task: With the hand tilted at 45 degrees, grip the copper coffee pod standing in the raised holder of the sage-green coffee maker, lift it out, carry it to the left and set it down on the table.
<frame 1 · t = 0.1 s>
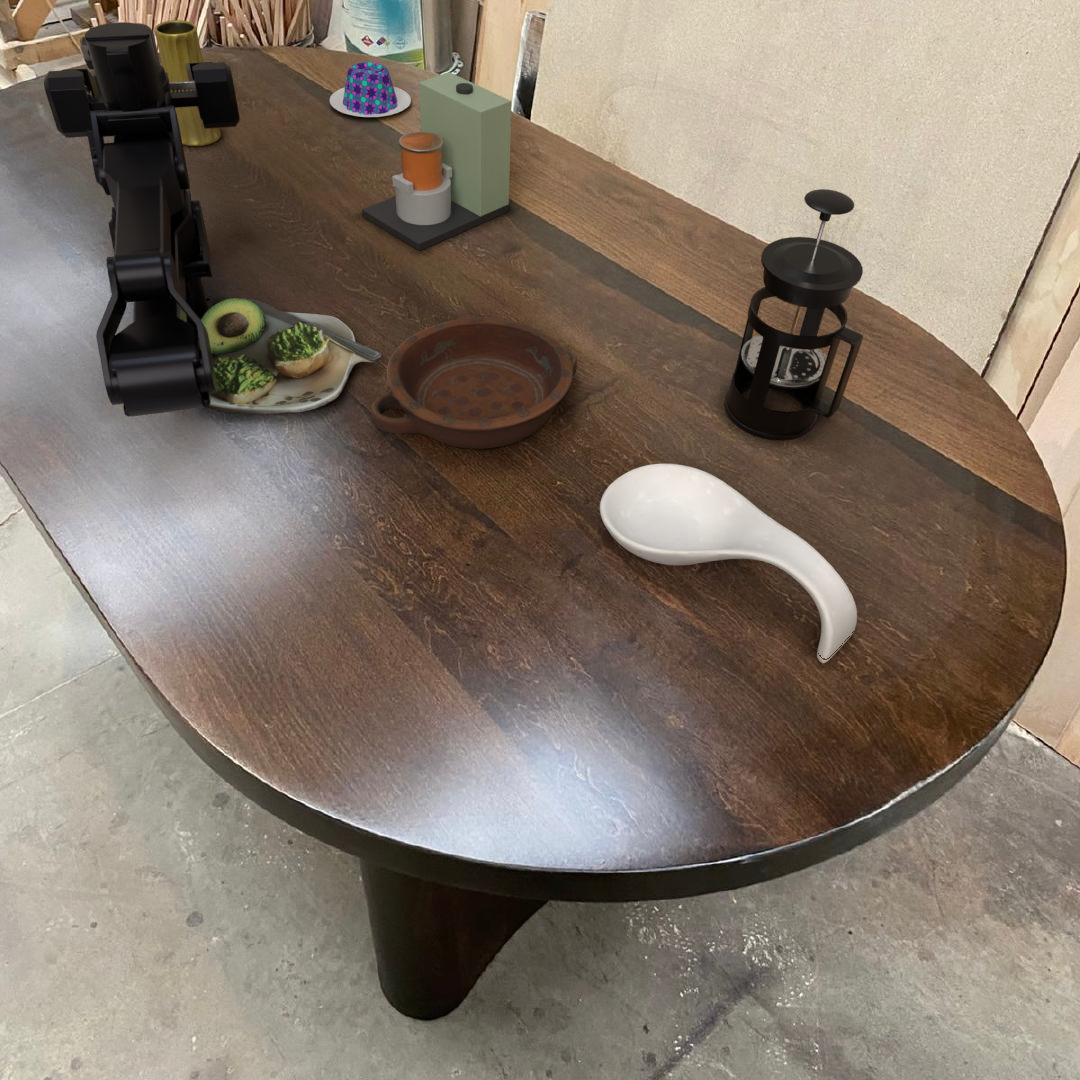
hand: (145, 69, 108), 17 cm above the table, tool horizontal, fingers open, 9 cm apart
french press: (773, 414, 98), on the table
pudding: (371, 106, 144), on the table
avocado toast plate: (268, 368, 99), on the table, touching arm
coffee pod: (422, 181, 117), point 5 cm above the table, touching coffee maker
dish: (480, 409, 96), on the table
spoon rest: (719, 574, 82), on the table
vase: (198, 138, 134), on the table
coffee maker: (424, 219, 121), on the table
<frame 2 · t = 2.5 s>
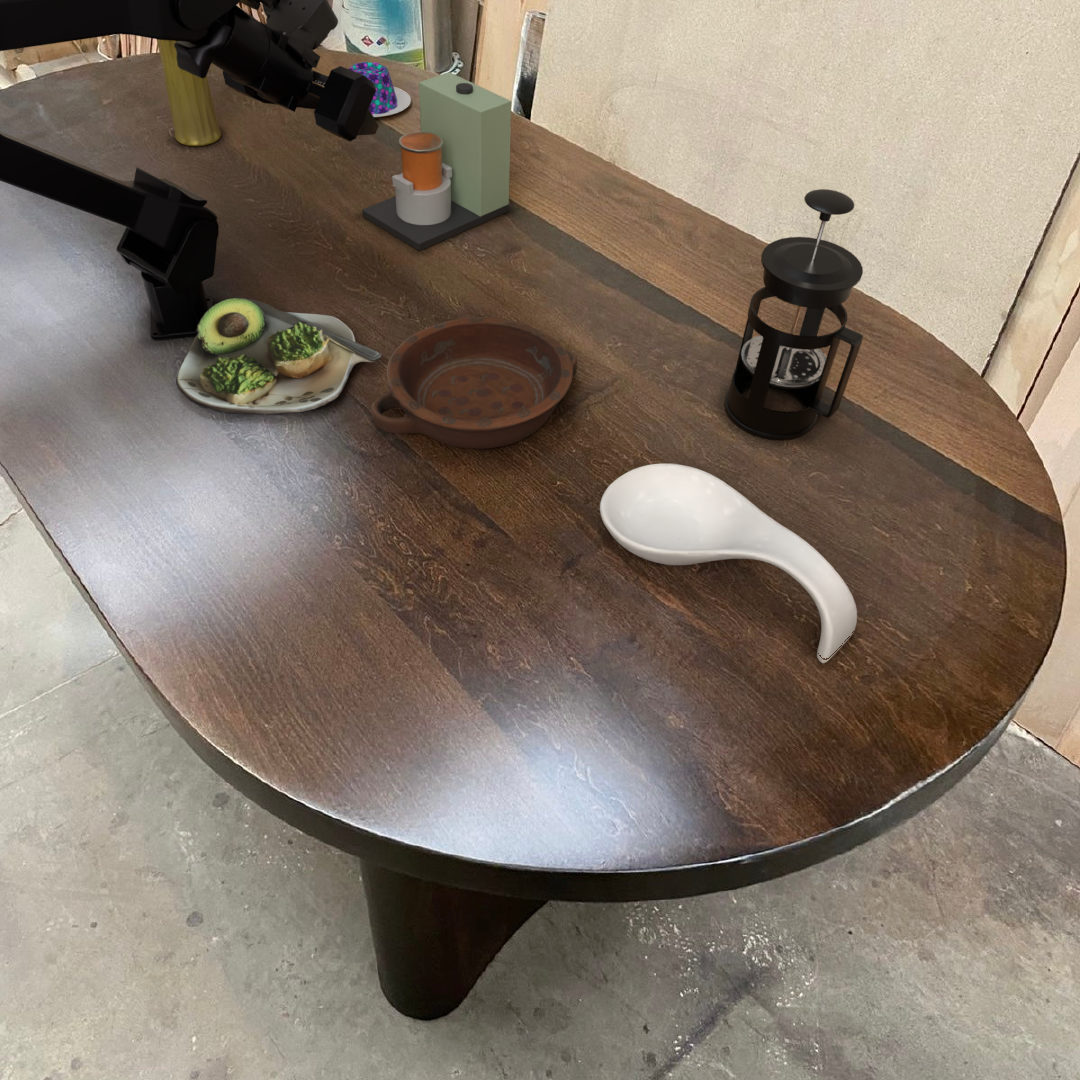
hand: (346, 116, 108), 14 cm above the table, tool tilted 50°, fingers open, 9 cm apart
nothing on the table moved.
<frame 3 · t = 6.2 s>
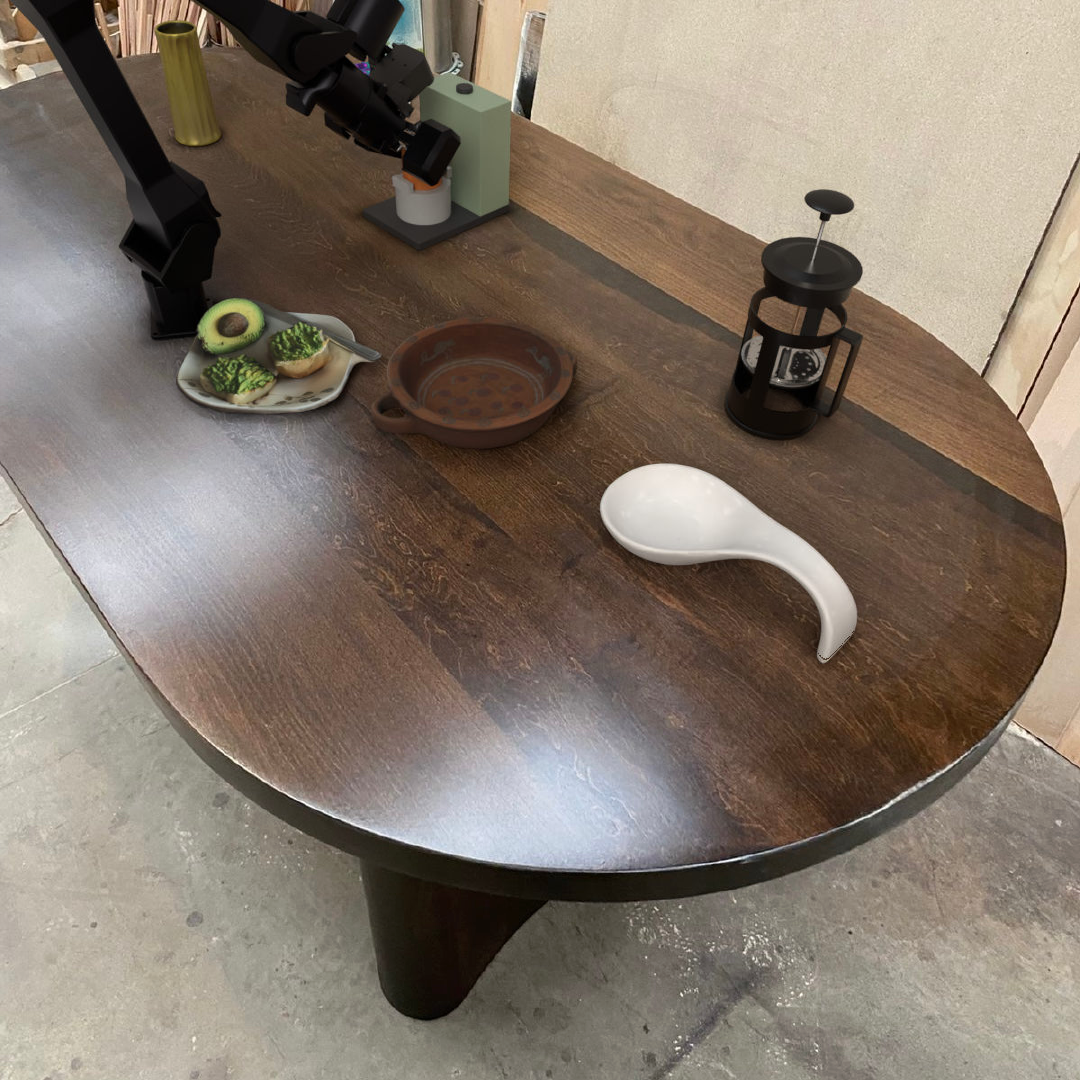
hand: (431, 165, 117), 7 cm above the table, tool tilted 45°, fingers closed on coffee pod, 5 cm apart
coffee pod: (422, 181, 118), point 5 cm above the table, touching coffee maker, gripper
everything else where it was.
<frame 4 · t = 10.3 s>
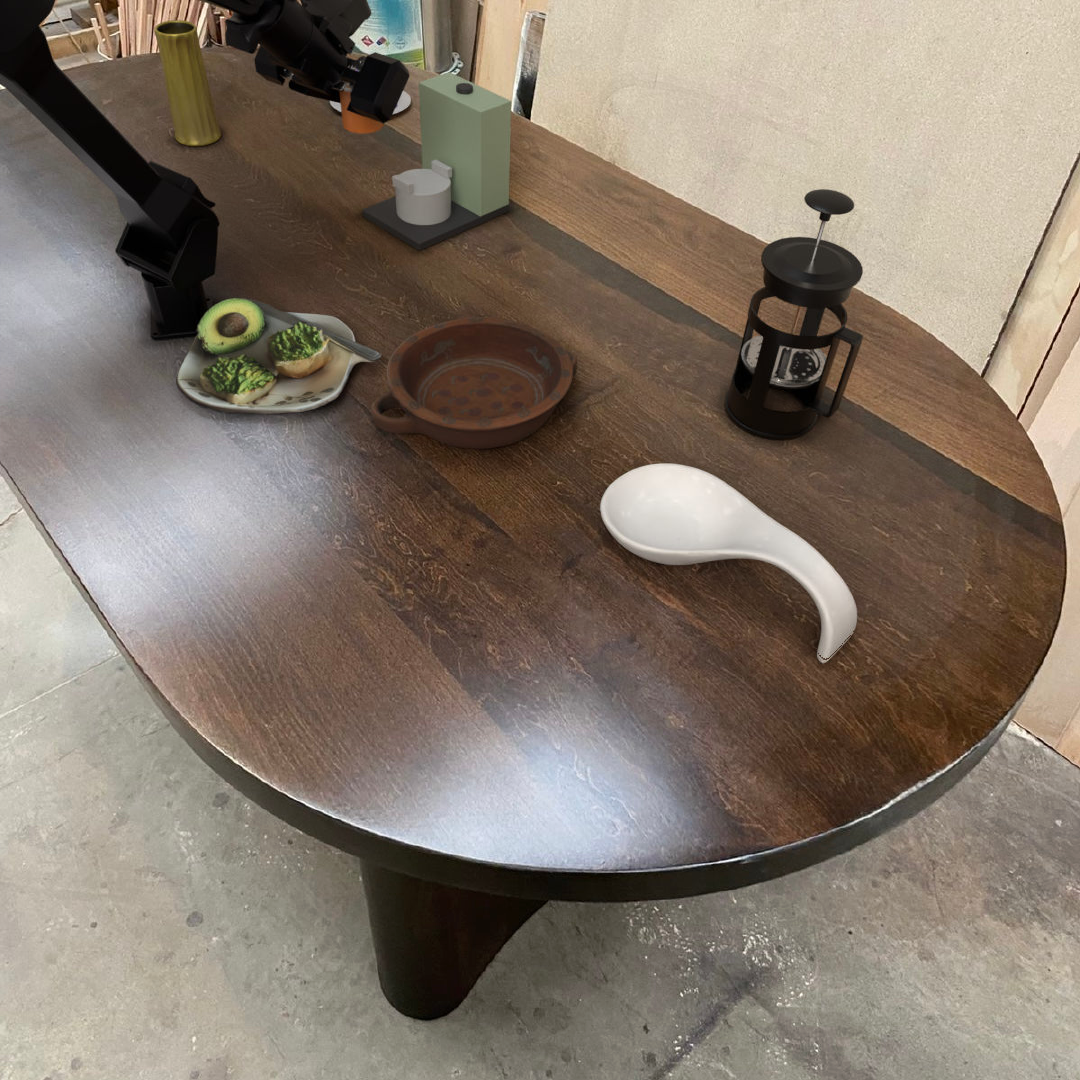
hand: (370, 107, 113), 13 cm above the table, tool tilted 45°, fingers closed on coffee pod, 5 cm apart
coffee pod: (363, 124, 113), point 11 cm above the table, touching gripper
everything else where it was.
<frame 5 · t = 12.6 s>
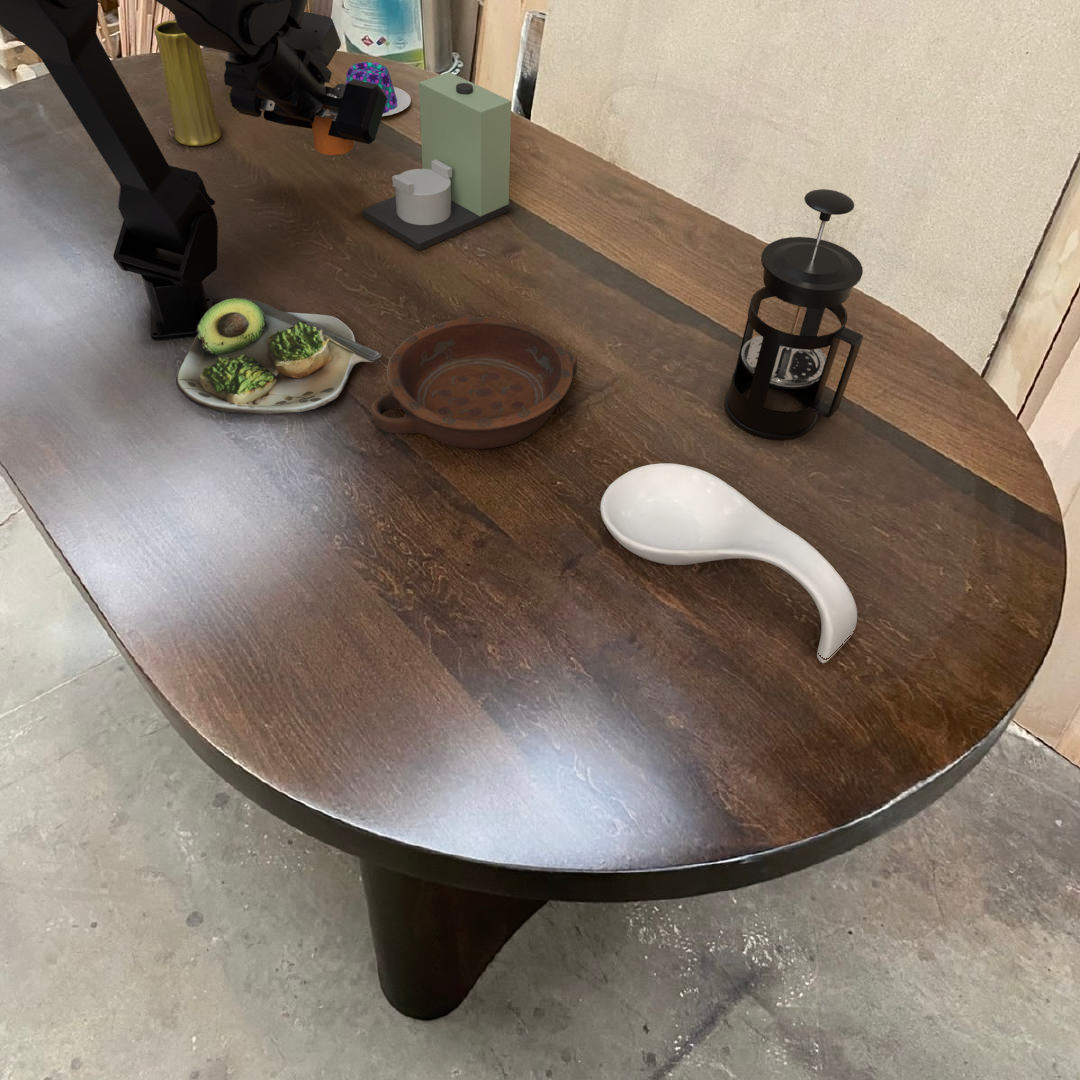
hand: (338, 130, 120), 8 cm above the table, tool tilted 45°, fingers closed on coffee pod, 5 cm apart
coffee pod: (334, 146, 121), point 6 cm above the table, touching gripper
everything else where it was.
when the fingers open (3 cm above the table, at t = 14.5 s): coffee pod drops 1 cm, on the table.
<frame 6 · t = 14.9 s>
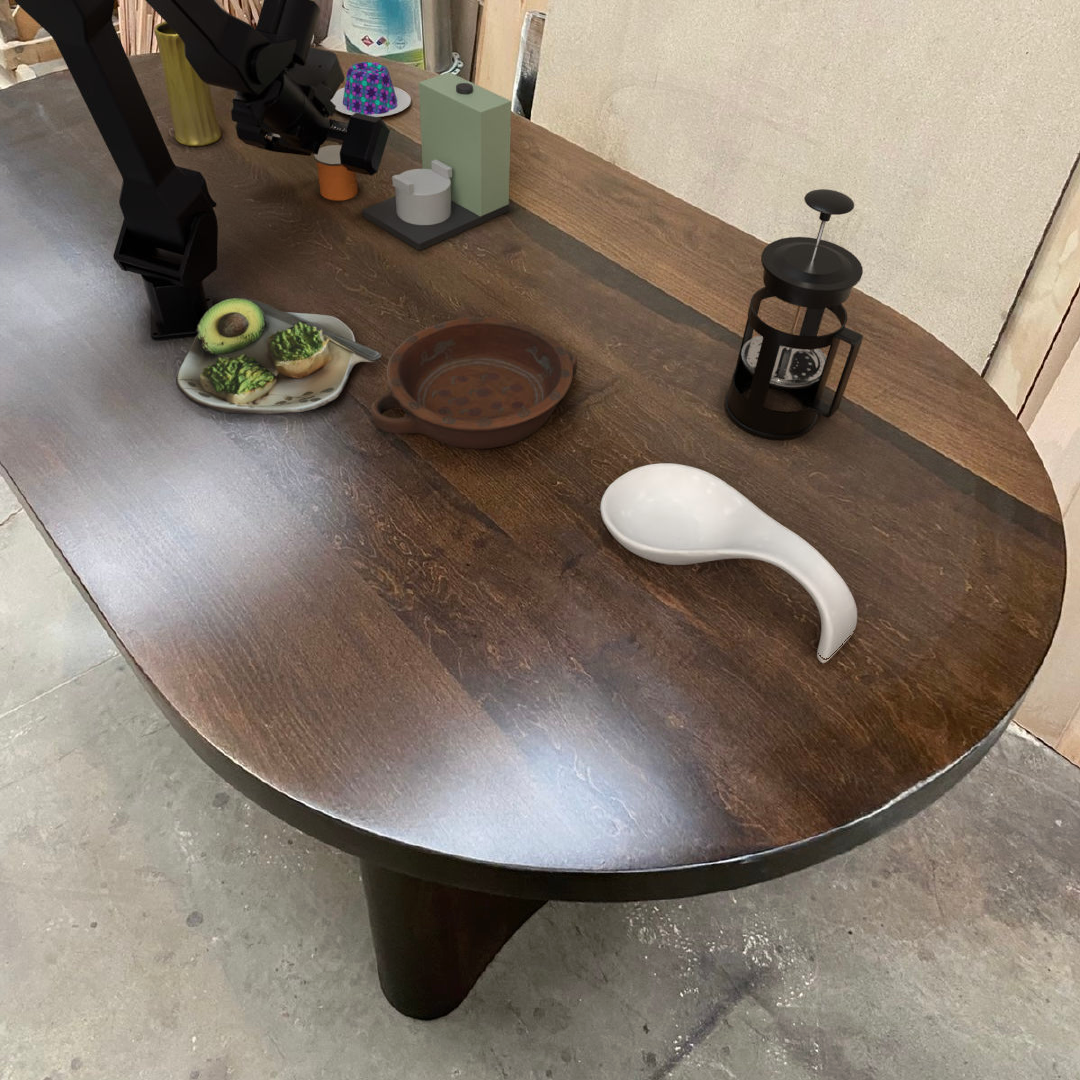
hand: (341, 159, 123), 4 cm above the table, tool tilted 45°, fingers open, 9 cm apart
coffee pod: (339, 191, 125), on the table
everything else where it was.
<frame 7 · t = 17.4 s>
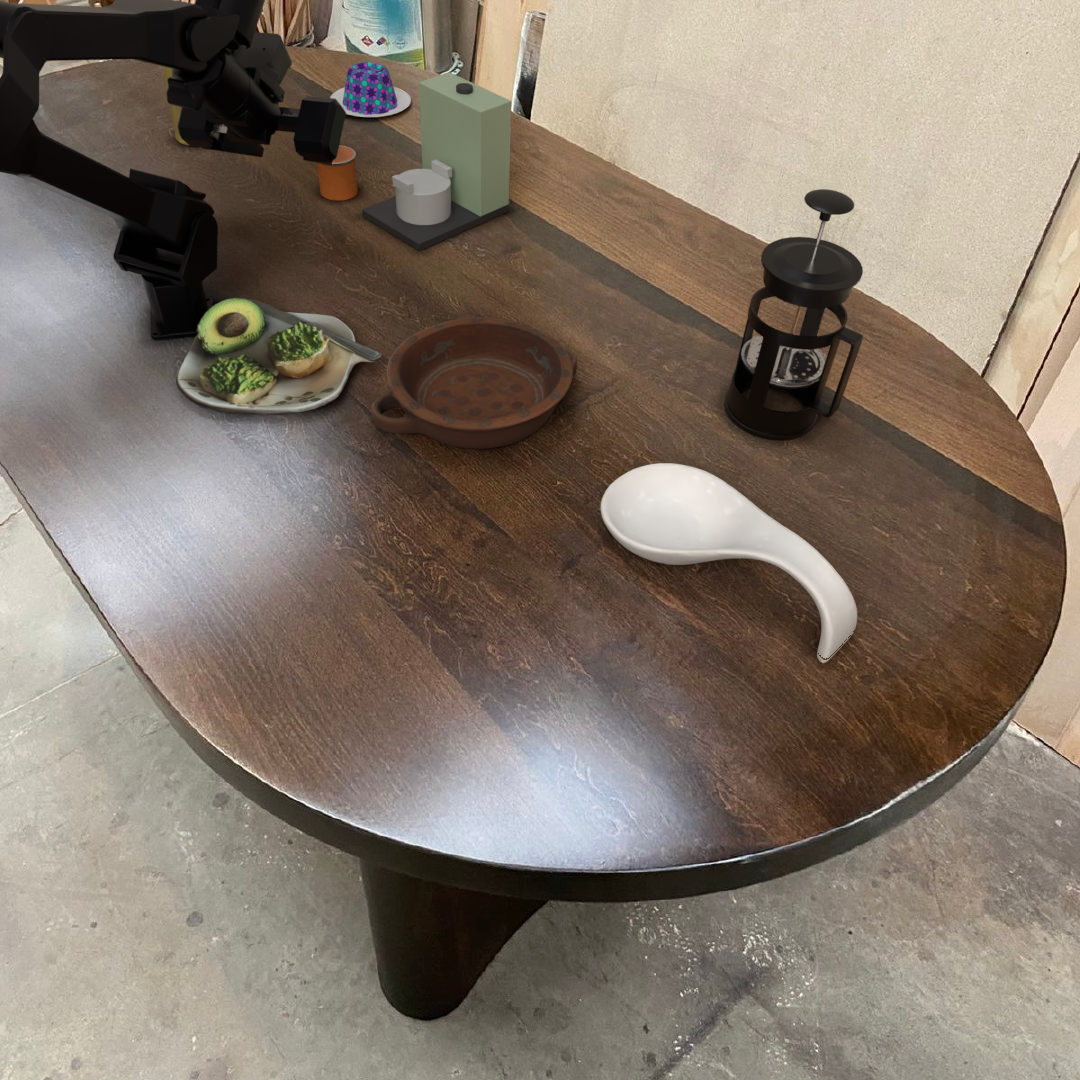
hand: (296, 157, 114), 8 cm above the table, tool tilted 40°, fingers open, 9 cm apart
nothing on the table moved.
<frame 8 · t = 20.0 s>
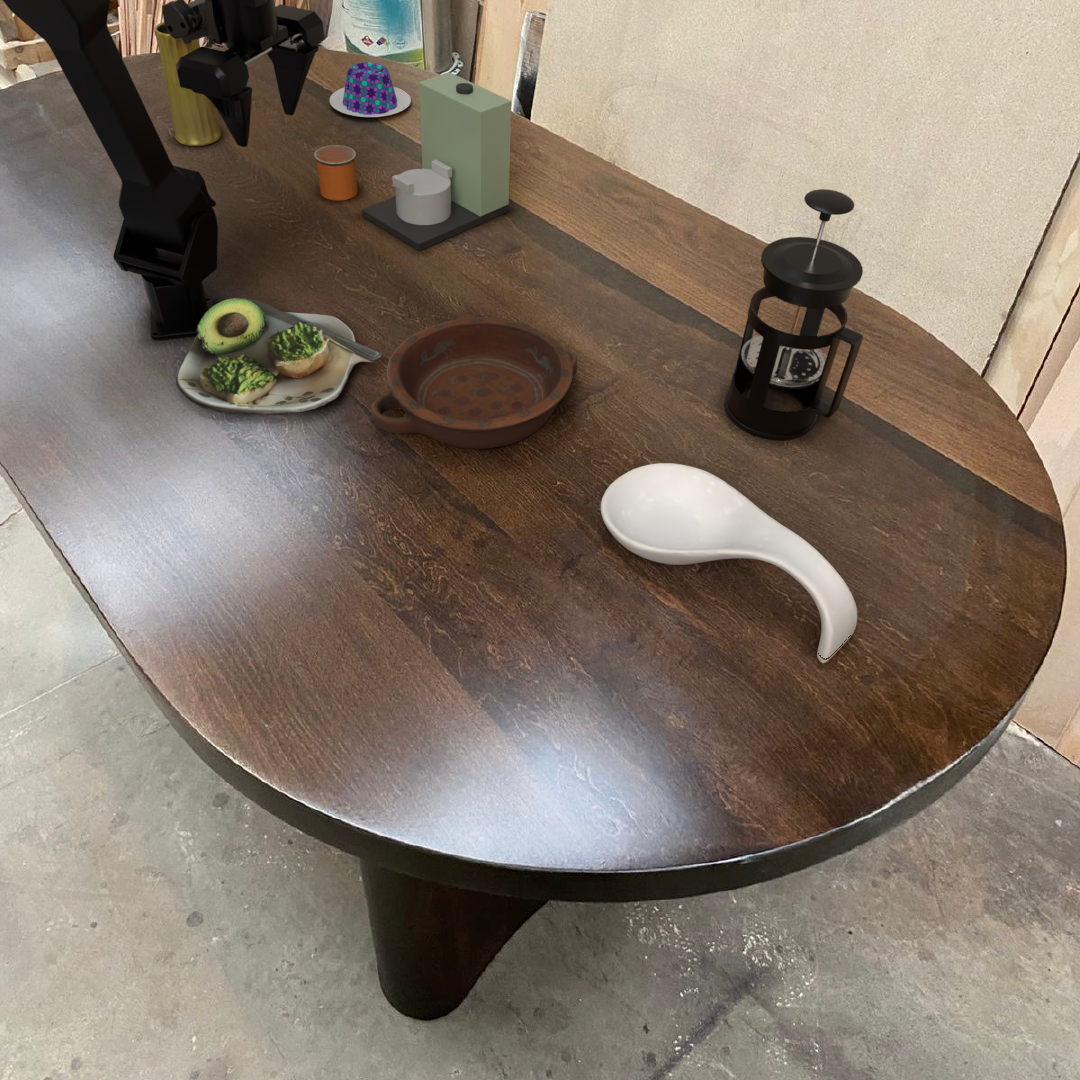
hand: (266, 129, 107), 13 cm above the table, tool pointing down, fingers open, 9 cm apart
nothing on the table moved.
at the end: coffee pod inside the target area (0.0 cm from its centre), on the table; coffee pod touching table; the gripper is holding nothing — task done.
